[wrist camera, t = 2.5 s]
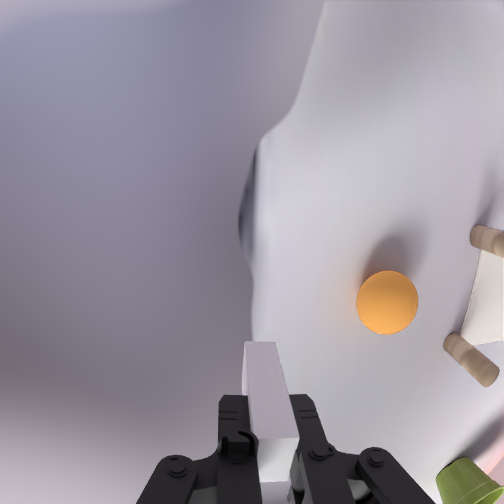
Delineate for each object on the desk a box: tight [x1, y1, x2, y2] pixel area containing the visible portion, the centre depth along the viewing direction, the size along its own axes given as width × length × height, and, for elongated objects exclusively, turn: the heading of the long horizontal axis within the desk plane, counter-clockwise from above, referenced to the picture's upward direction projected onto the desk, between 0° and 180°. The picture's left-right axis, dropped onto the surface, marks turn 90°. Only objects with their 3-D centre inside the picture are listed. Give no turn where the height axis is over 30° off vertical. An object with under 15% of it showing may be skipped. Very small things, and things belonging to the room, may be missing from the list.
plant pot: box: [436, 457, 504, 504], centre depth 34 cm, size 12×12×11 cm
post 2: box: [443, 333, 500, 387], centre depth 27 cm, size 2×2×8 cm
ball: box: [357, 271, 418, 335], centre depth 26 cm, size 6×6×6 cm
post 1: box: [470, 225, 504, 258], centre depth 24 cm, size 2×2×8 cm
